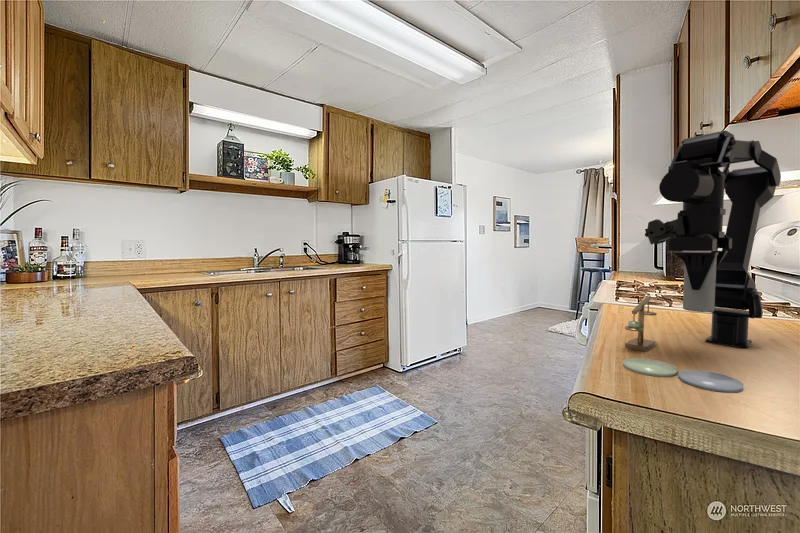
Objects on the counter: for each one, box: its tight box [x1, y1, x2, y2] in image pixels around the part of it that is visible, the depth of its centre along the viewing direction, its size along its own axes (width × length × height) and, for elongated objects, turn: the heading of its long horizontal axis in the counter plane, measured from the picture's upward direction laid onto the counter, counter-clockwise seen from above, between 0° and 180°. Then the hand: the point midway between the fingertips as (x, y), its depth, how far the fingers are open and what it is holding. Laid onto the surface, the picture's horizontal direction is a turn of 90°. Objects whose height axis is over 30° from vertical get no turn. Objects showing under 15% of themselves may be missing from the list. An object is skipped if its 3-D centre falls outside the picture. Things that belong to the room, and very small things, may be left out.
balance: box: [624, 295, 658, 353], centre depth 74 cm, size 11×4×10 cm, turn 128°
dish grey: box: [677, 369, 744, 394], centre depth 56 cm, size 8×8×1 cm
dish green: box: [623, 357, 678, 378], centre depth 62 cm, size 8×8×1 cm
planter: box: [682, 257, 717, 313], centre depth 67 cm, size 4×4×10 cm
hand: (699, 288), depth 67 cm, fingers closed on planter, 4 cm apart
